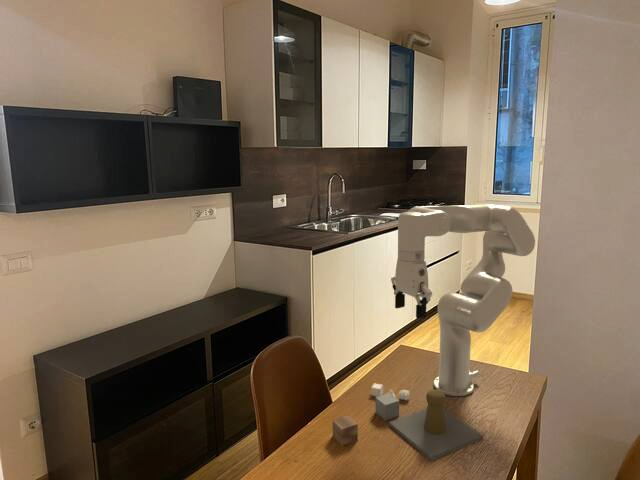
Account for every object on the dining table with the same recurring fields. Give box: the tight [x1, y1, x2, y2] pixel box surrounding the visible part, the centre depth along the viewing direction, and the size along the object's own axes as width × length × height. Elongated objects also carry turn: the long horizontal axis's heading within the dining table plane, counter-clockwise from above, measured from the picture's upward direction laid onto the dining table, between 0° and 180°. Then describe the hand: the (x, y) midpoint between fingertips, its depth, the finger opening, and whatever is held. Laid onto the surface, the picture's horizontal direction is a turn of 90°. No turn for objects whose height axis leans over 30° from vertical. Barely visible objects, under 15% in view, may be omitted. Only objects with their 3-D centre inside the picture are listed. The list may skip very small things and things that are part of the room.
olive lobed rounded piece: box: [424, 389, 446, 435], centre depth 133 cm, size 6×6×11 cm
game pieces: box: [370, 382, 411, 402], centre depth 153 cm, size 12×3×3 cm, turn 67°
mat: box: [388, 408, 484, 461], centre depth 135 cm, size 18×18×1 cm
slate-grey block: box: [374, 392, 400, 421], centre depth 144 cm, size 5×5×5 cm
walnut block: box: [332, 414, 359, 447], centre depth 132 cm, size 5×5×5 cm
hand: (410, 312), depth 142 cm, fingers open, 9 cm apart
